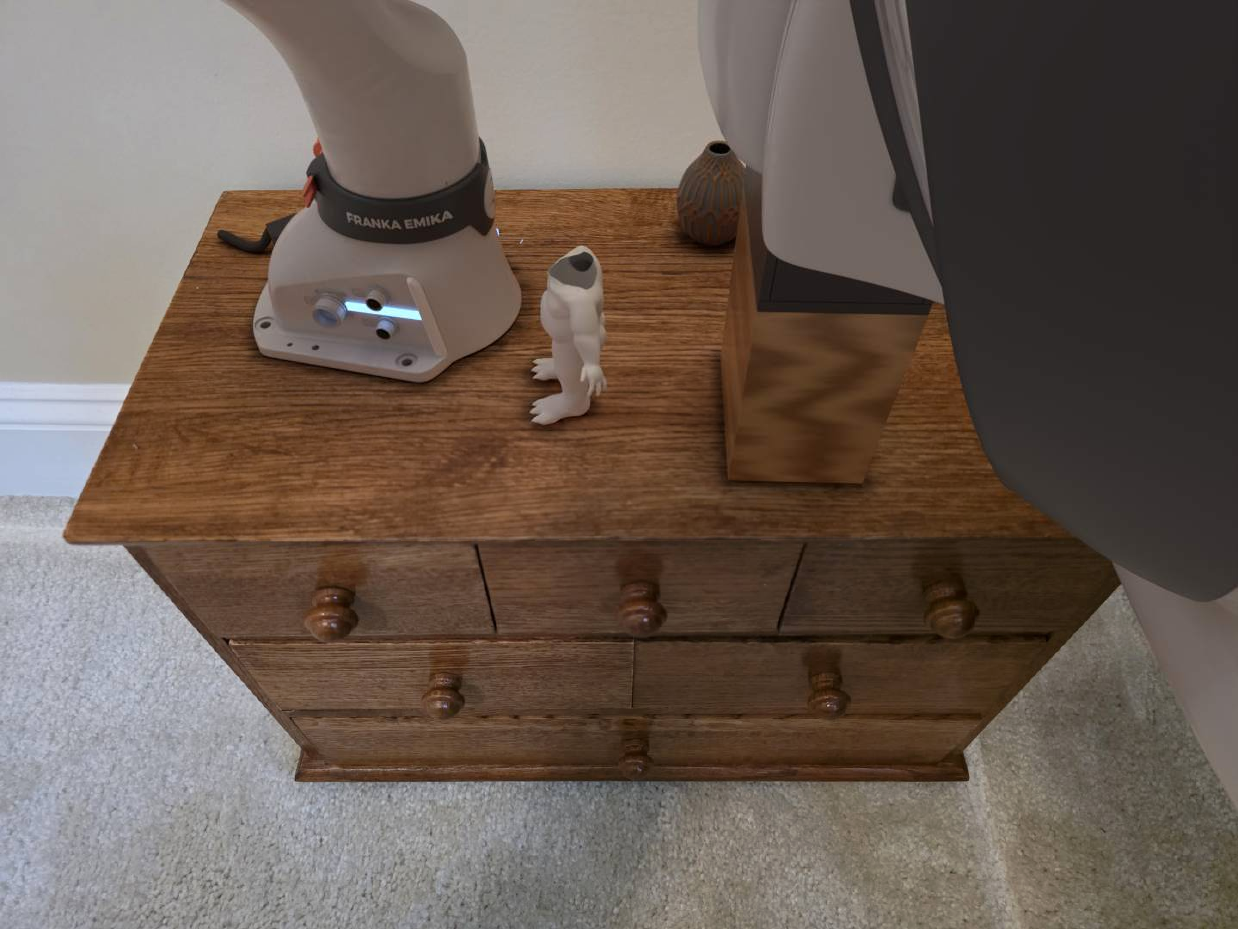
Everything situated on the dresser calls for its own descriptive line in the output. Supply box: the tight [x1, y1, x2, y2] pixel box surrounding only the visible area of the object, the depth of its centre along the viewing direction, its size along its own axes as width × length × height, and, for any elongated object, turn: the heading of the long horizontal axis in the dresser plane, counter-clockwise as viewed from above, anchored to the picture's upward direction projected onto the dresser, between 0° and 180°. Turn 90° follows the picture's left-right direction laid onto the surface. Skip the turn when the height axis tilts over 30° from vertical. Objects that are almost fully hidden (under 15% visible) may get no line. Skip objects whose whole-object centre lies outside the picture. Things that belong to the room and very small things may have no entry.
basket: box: [743, 164, 935, 316], centre depth 47 cm, size 10×13×7 cm
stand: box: [719, 185, 929, 485], centre depth 56 cm, size 10×13×16 cm
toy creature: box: [529, 245, 608, 426], centre depth 59 cm, size 12×6×12 cm, turn 3°
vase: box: [676, 140, 746, 246], centre depth 73 cm, size 7×7×9 cm
